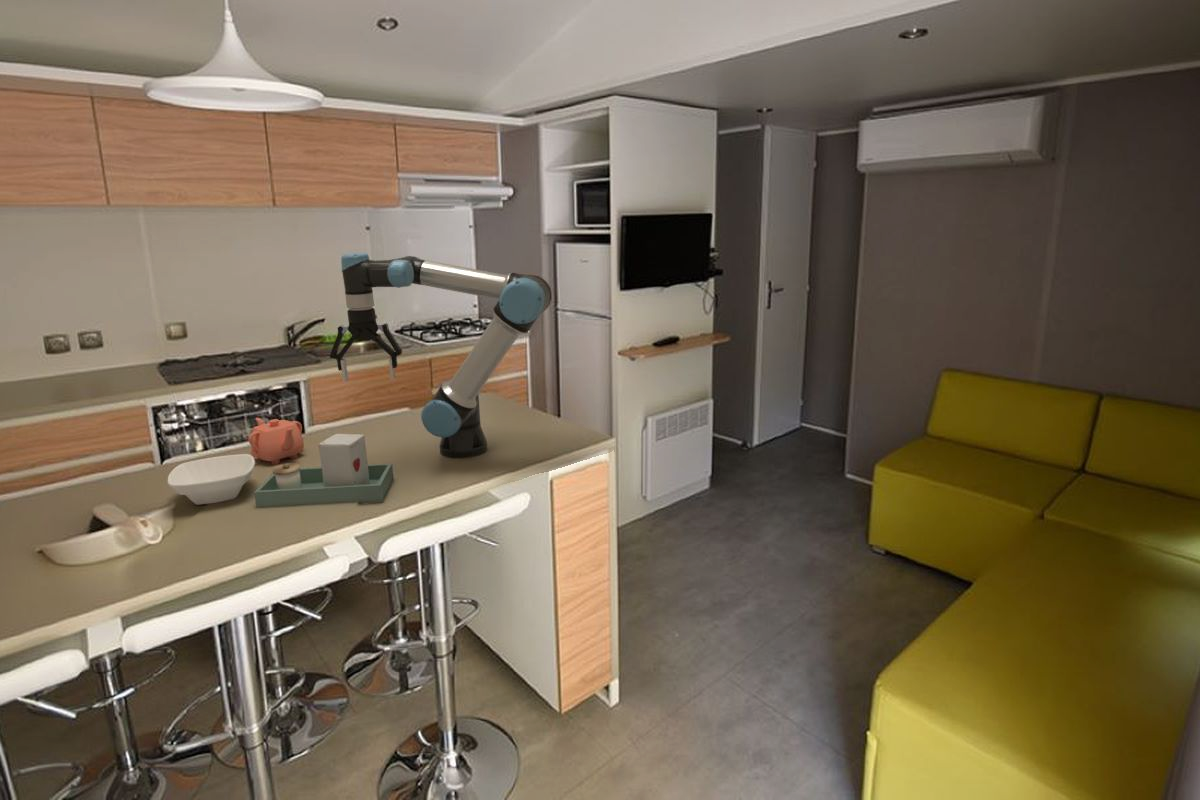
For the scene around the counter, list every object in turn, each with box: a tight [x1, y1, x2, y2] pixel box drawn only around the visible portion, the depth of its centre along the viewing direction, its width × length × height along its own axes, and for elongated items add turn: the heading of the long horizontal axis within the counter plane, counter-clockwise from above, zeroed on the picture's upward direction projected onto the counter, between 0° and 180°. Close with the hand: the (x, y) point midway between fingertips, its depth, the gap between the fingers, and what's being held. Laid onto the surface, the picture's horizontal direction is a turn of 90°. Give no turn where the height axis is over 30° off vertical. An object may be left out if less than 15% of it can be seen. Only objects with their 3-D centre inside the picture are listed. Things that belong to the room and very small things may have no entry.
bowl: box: [167, 453, 256, 505], centre depth 183 cm, size 21×21×9 cm
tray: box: [253, 462, 395, 508], centre depth 184 cm, size 32×16×5 cm, turn 96°
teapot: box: [247, 417, 305, 465], centre depth 211 cm, size 15×17×13 cm
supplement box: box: [318, 433, 370, 487], centre depth 183 cm, size 9×9×15 cm
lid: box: [272, 462, 301, 475], centre depth 181 cm, size 7×7×2 cm
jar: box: [275, 470, 302, 489], centre depth 183 cm, size 6×6×7 cm
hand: (369, 379), depth 199 cm, fingers open, 13 cm apart
